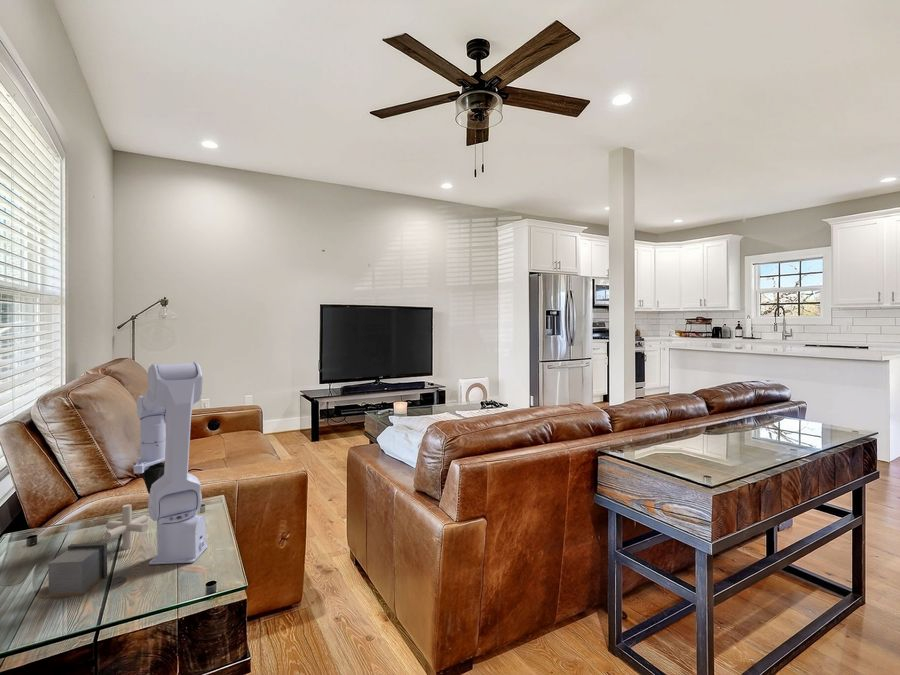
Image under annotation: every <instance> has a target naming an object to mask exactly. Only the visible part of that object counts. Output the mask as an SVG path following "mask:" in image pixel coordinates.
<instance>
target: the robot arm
mask: <svg viewBox="0 0 900 675" xmlns="http://www.w3.org/2000/svg"><path fill="white" fill-rule="evenodd" d="M147 385H148V388H147V390H146V392H145V393H144V395H138V396H137V400H136V413H137V417H138V419H139V446H140V447H139V457H137V458H136V459H135V462H136V464H135V465H133V475H134V474H136V475H137V474H139V475H140V476H141V478H142V479H143V481H144V485H145V487H146V490H147V491H146V492H148V493H147V494H148V497H147V498H148V500H147V508H148V509H147V510H148V514H149V517H150V519H151V520H152V521H154V522H156V534H157V535H156V536H157V537H156V538H157V539H156V540H157V541H156V545H157V547H156V548H157V551H156V553H157V554H156V555H155V556H154V557H153V558H152V559H151V560H150V561H149V562H148V565H162V564H163V565H166V564H168V565H169V564H185V563H187V564H188V563H189V564H192V563H194V562H195V561H197V559H198V558H199V557H200V556H201V555H202V553H203V552H204V551H205V550H206V549H207V548H208V547H209V546H208V544H207V520H206V518H205V516H204V515H198V514H197V512H198V511H199V510H200V509H201V506H202V504H203V502H202V501H203V497H202V496H203V495H202V485H201V481H200V480H199V478H198V477H197V476H196V475H193V474H191V473H189V462H190V460H189V458H190V445H191V444H190V442H191V429H192V428H191V426H192V424H191V423H192V413H193V408H194V405H195V404H196V403H197V402H198V403H199V401H201V399H202V398H201V397H202V391H203V371H202V367H201V365H200V363H198V362H196V361H193V362H186V363H185V362H183V363H181V362H180V363H164V364H163V363H162V364H161V363H160V364H156V363H152V364H151V365H150V366H149V367H148V369H147Z"/></svg>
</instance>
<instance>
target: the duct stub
mask: <svg viewBox="0 0 900 675" xmlns="http://www.w3.org/2000/svg"><path fill="white" fill-rule="evenodd" d="M47 564H48V570H47V572H48V573H47V574H48V598H53V597H55V598H57V597H71V596H73V597H74V596H76V597H77V596H84V594H85V593H87V592H88V591H89V590H91V589H92V588H94V587H95V585H97V584H98V583H99V582H100V581H101V580H103V579H106V578H107V577H108V542H96V543H95V542H92V543H71V544H69V545H68V546H67V550H66V551H65V552H63V553H62V554H60V555H59V556H57V557H55V558H54V559H52V560H51V561H50V562H48V563H47Z"/></svg>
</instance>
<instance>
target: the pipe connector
mask: <svg viewBox="0 0 900 675" xmlns="http://www.w3.org/2000/svg"><path fill="white" fill-rule="evenodd" d="M121 510H122V511H121V512H122V513H121V516H122V519H121V520H122V521H118V520H108V521H107V523H106V524H105V529H107V530H108V531H106V532H105V533H104V538H105V539H106V540H107V541H108V540H112V539H114V538H115V537H118V536H120V535H122V549H123V550H129V549H131V548H132V547H133V532H139V533H145V532H147V530H148V529H149V525H148V524H147V522H148V521H149V520H148V515H146V514H143V515H140V516H138V517H136V518H134V519H132V518H133V516H132V513H133V512H132V504H124V505H122V506H121Z"/></svg>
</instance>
